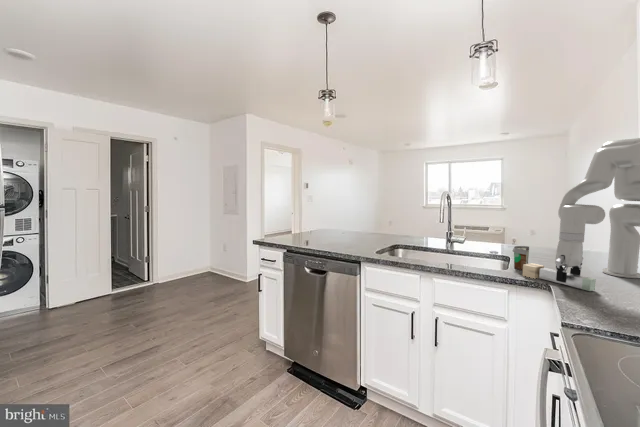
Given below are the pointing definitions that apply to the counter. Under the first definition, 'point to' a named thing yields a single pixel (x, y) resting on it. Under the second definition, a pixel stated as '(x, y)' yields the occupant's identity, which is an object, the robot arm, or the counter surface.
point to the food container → (520, 256)
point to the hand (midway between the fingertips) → (568, 280)
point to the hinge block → (532, 270)
